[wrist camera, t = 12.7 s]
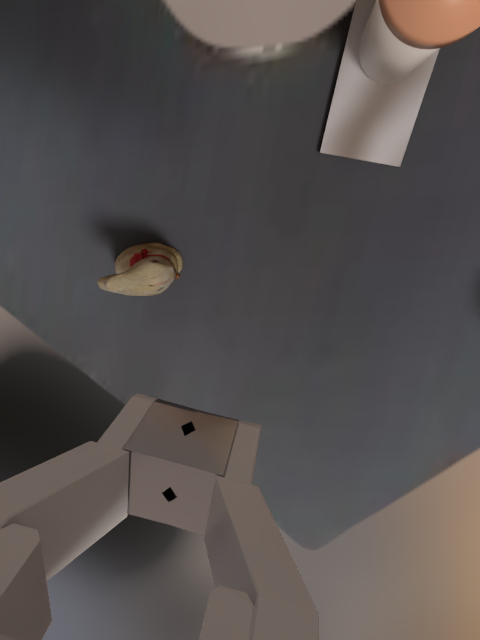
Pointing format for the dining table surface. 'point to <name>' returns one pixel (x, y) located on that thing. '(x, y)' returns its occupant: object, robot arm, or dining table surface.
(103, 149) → the dining table surface
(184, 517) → the robot arm
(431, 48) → the knob
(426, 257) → the dining table surface
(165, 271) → the chocolate bunny
